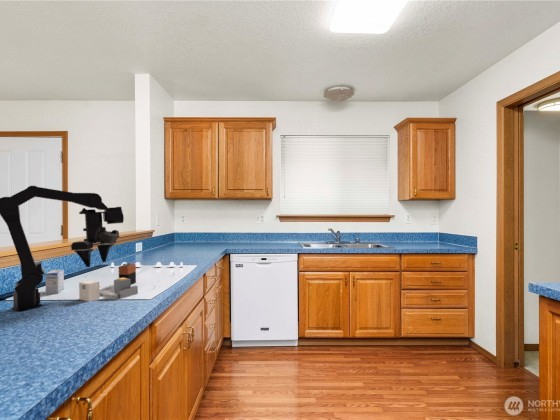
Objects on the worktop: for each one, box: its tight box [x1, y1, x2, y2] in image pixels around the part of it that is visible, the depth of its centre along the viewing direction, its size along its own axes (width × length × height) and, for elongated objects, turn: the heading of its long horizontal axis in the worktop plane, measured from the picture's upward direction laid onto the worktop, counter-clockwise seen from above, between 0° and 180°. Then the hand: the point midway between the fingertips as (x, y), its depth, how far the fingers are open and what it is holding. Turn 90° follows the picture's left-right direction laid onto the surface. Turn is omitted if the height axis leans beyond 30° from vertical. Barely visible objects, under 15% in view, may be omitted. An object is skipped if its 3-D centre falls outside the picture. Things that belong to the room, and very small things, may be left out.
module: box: [78, 279, 101, 302], centre depth 117 cm, size 4×6×7 cm
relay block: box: [113, 277, 132, 293], centre depth 122 cm, size 4×4×6 cm
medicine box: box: [44, 269, 65, 295], centre depth 131 cm, size 8×4×9 cm, turn 21°
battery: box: [118, 262, 137, 286], centre depth 139 cm, size 4×7×10 cm, turn 175°
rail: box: [99, 284, 139, 300], centre depth 124 cm, size 8×17×4 cm, turn 62°
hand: (96, 264), depth 123 cm, fingers open, 9 cm apart
